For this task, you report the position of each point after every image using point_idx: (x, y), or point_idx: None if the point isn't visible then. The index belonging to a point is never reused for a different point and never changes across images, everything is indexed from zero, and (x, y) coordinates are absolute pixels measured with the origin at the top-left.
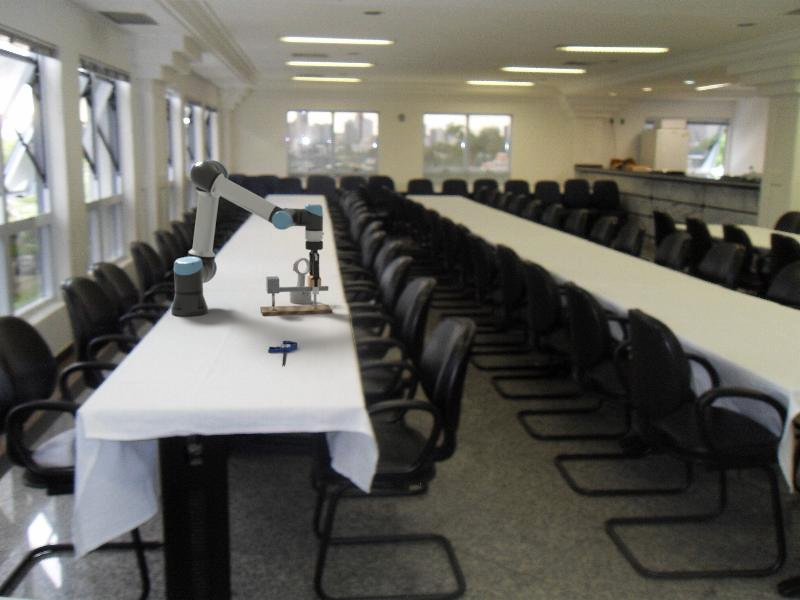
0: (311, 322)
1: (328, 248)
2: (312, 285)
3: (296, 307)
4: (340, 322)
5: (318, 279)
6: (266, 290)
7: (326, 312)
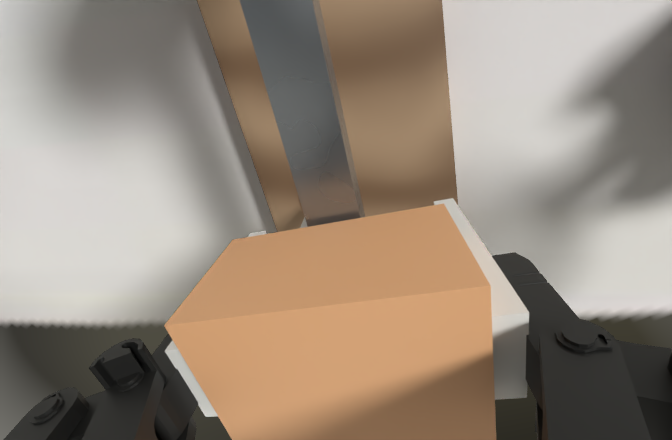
0: (52, 186)
1: None
2: None
3: (361, 49)
4: (111, 309)
5: (204, 412)
6: None
7: None
